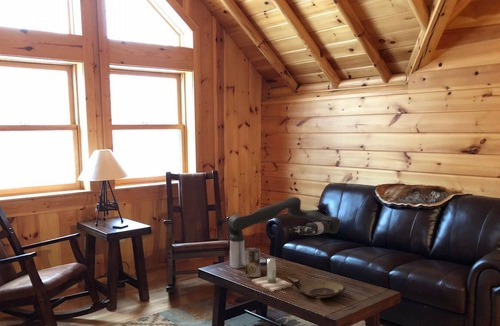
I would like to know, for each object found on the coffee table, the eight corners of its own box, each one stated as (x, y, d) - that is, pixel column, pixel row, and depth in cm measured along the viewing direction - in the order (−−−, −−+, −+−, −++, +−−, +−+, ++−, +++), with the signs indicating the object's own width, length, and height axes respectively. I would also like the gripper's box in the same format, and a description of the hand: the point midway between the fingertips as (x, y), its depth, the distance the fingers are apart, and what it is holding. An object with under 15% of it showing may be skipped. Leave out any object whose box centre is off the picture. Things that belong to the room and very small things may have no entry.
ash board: (251, 281, 250) (251, 279, 250) (271, 277, 258) (270, 275, 258) (272, 291, 235) (272, 289, 235) (291, 285, 243) (291, 283, 243)
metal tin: (265, 281, 247) (265, 259, 246) (272, 279, 250) (272, 257, 249) (270, 283, 243) (270, 261, 242) (277, 282, 246) (277, 259, 245)
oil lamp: (329, 308, 212) (329, 293, 211) (282, 293, 233) (282, 279, 232) (353, 295, 228) (353, 281, 227) (307, 282, 249) (307, 269, 248)
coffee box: (260, 273, 265) (260, 247, 264) (260, 277, 259) (259, 250, 258) (246, 273, 266) (245, 247, 265) (244, 276, 260) (244, 250, 259)
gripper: (306, 220, 271) (286, 223, 261) (322, 224, 259) (302, 227, 250) (306, 232, 271) (286, 236, 262) (322, 236, 260) (302, 240, 250)
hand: (294, 232), depth 256 cm, fingers open, 8 cm apart
